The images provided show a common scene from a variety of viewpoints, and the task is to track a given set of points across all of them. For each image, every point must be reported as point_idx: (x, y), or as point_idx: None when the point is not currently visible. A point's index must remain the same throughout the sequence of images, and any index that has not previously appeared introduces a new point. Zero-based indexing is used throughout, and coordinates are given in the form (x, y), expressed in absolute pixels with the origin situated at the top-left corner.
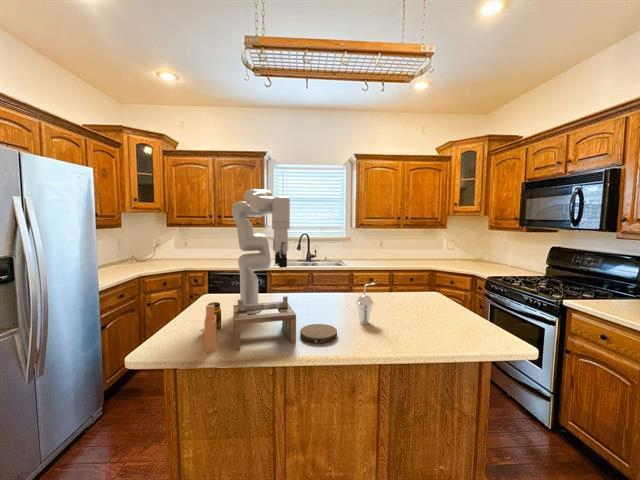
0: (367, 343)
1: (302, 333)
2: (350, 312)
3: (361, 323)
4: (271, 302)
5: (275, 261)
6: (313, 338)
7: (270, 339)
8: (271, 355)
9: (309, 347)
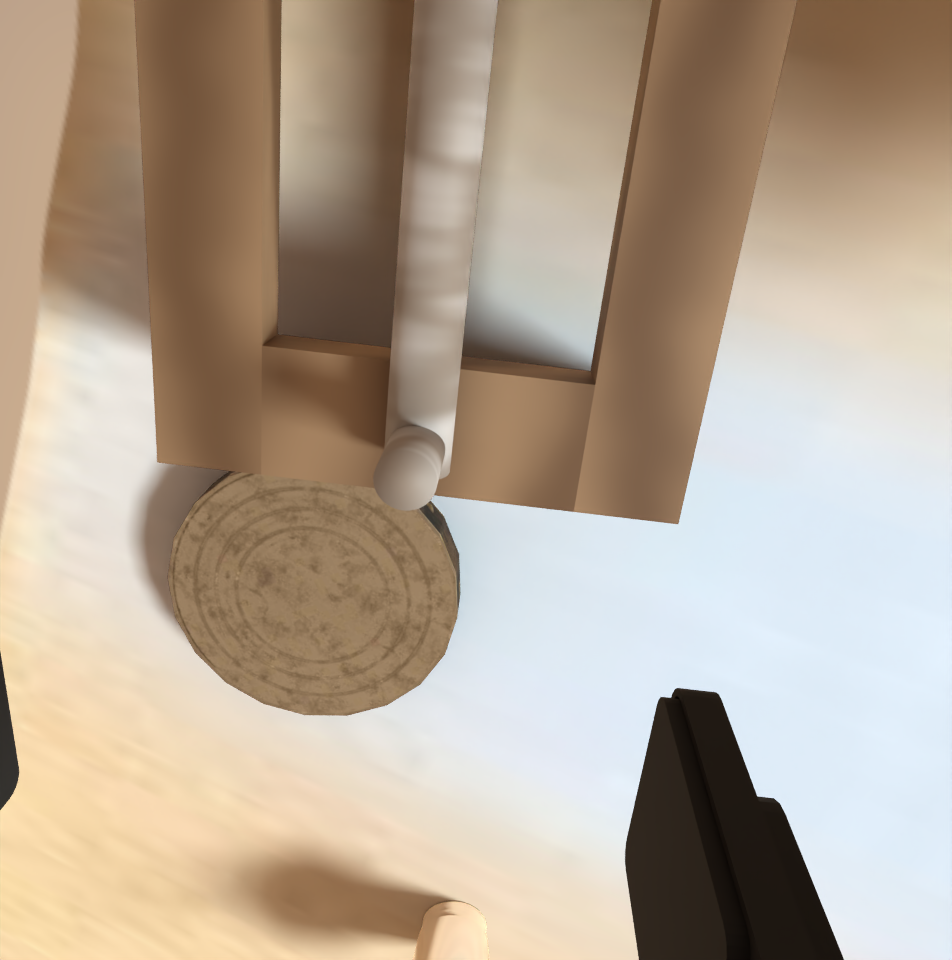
0: (126, 778)
1: None
2: None
3: (442, 902)
4: (713, 340)
5: (689, 737)
6: (192, 508)
7: (393, 205)
8: (85, 130)
9: (155, 444)
